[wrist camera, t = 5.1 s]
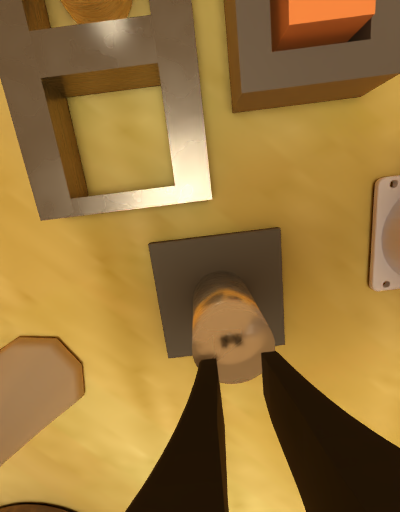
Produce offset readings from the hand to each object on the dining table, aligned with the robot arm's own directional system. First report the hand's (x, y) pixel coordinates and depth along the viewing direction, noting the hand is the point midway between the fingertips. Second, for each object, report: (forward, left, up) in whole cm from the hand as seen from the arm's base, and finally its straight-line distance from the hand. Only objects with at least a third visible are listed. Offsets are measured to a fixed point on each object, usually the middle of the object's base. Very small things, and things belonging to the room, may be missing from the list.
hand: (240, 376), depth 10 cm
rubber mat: (0, 0, -8) cm, 8 cm away
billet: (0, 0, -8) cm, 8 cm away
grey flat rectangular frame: (+5, -15, -8) cm, 18 cm away
